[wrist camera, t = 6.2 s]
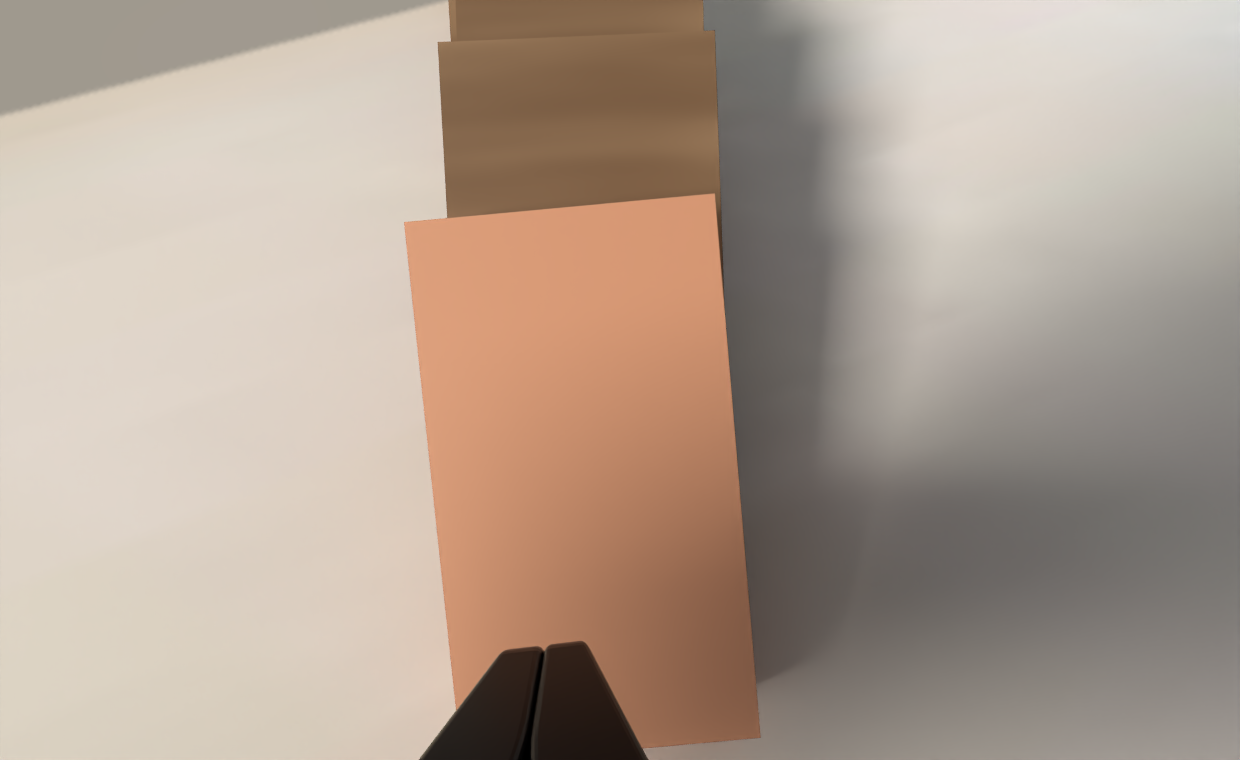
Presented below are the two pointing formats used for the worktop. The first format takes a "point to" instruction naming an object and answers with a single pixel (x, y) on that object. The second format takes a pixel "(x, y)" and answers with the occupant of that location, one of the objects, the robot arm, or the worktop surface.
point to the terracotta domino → (589, 453)
